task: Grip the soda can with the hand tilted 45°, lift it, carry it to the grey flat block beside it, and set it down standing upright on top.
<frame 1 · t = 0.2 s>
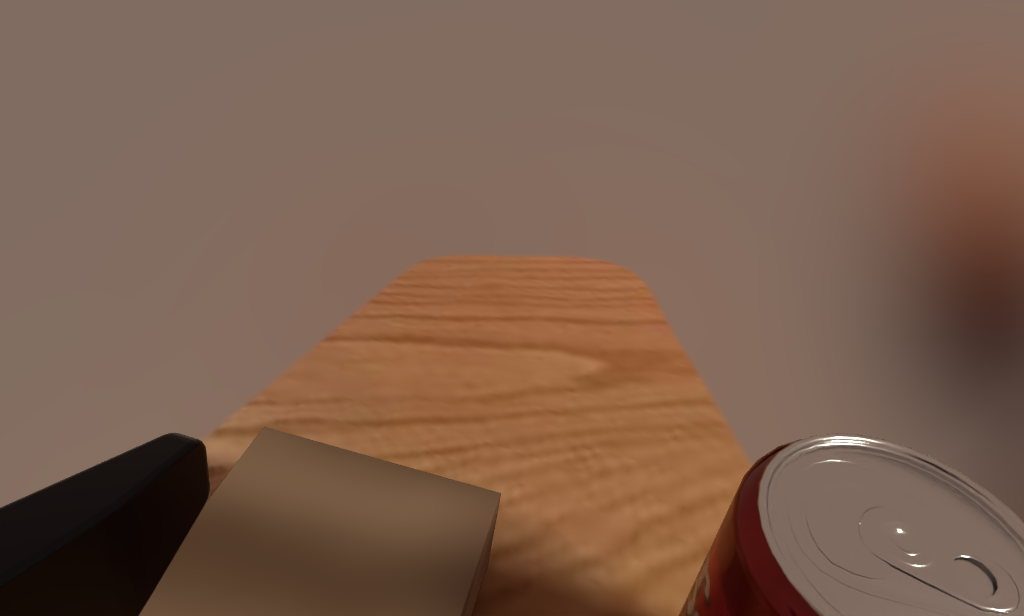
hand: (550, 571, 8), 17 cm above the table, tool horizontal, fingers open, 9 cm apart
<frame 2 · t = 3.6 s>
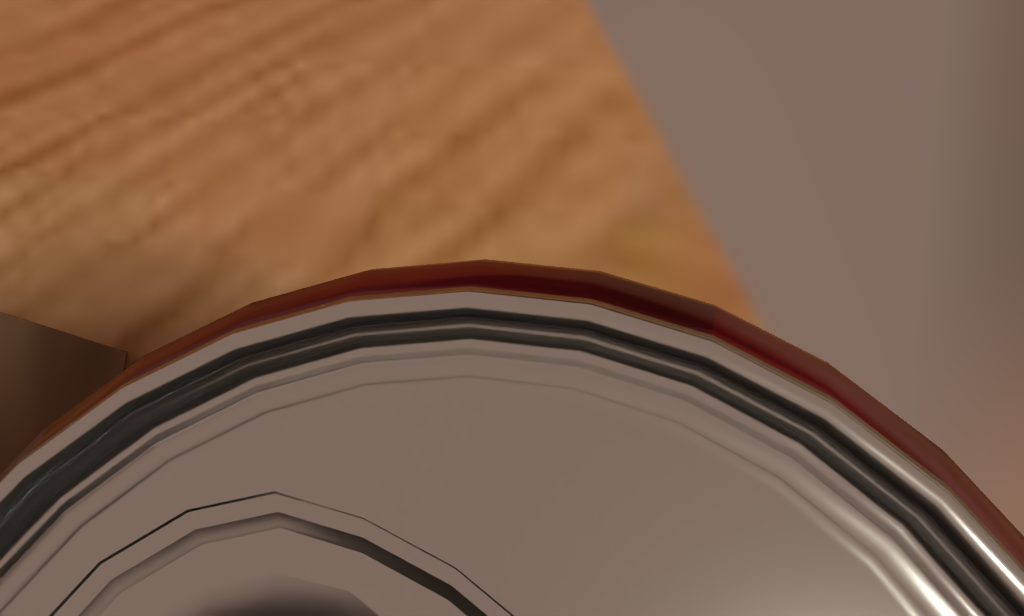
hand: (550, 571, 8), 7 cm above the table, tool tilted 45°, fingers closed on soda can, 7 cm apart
soda can: (538, 606, 15), on the table, touching gripper
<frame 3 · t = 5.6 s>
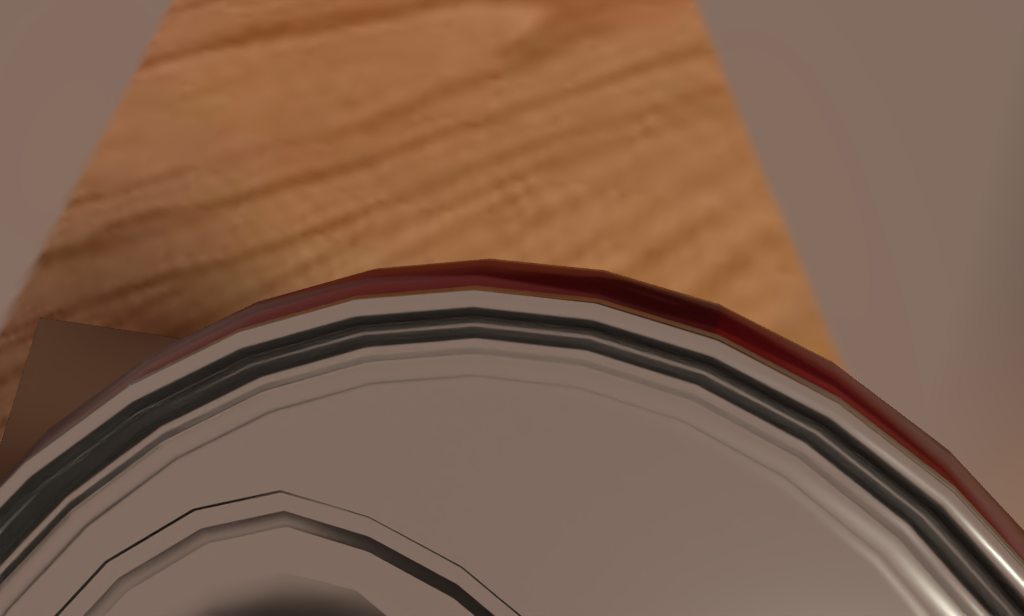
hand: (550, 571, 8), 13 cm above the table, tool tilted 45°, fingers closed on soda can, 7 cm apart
soda can: (540, 604, 15), point 6 cm above the table, touching gripper
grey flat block: (219, 526, 22), on the table
when the fingers open (11 cm above the table, at t = 7.8 s): soda can stays where it is, resting on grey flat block.
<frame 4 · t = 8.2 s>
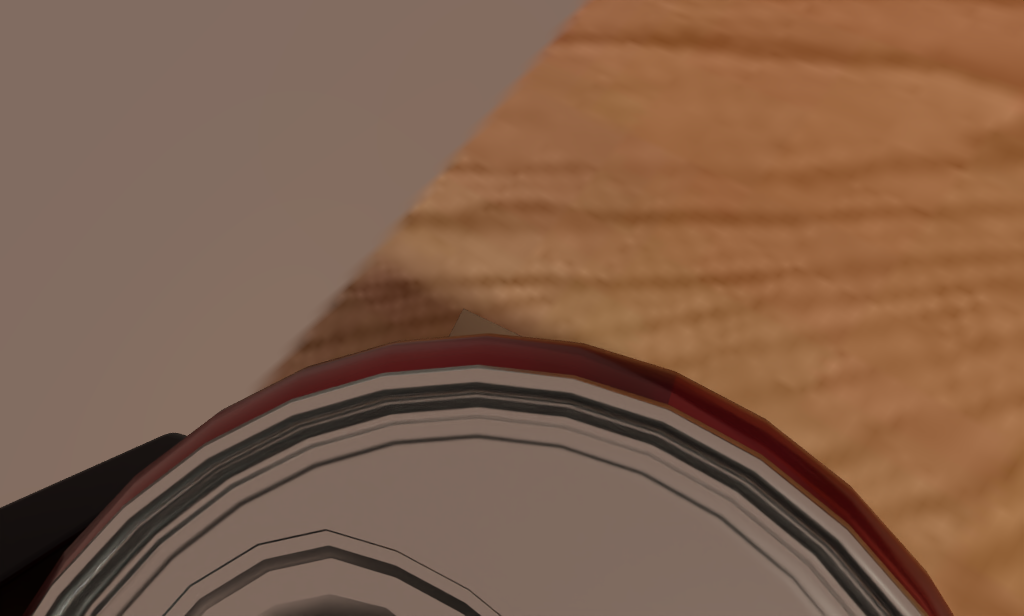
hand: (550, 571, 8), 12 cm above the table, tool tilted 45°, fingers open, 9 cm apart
soda can: (538, 607, 16), point 4 cm above the table, touching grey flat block
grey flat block: (545, 577, 20), on the table
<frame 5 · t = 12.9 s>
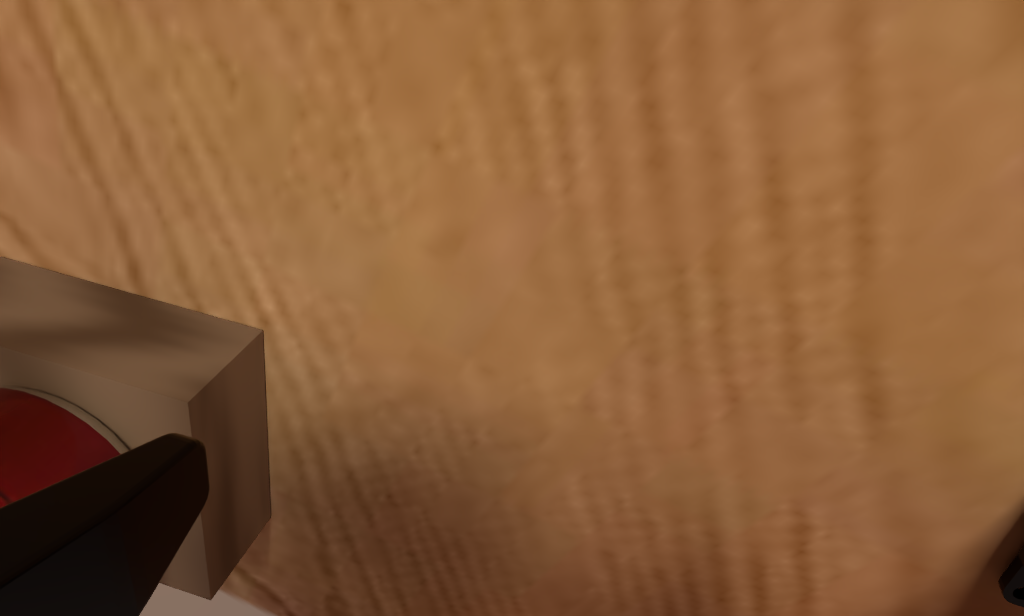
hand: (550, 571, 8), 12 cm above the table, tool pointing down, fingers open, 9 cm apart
soda can: (71, 463, 24), point 4 cm above the table, touching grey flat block
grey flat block: (144, 395, 27), on the table
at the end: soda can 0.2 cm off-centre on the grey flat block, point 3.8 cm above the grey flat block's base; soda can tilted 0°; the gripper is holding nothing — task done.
